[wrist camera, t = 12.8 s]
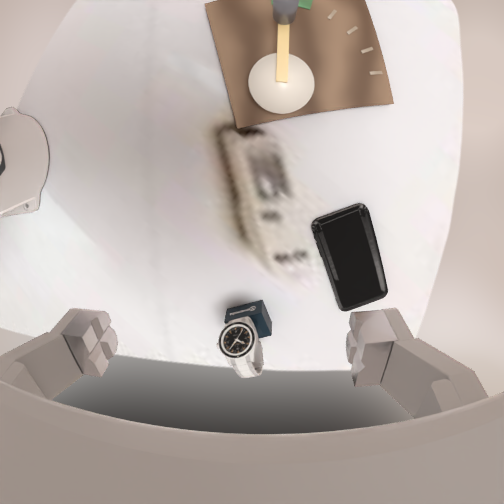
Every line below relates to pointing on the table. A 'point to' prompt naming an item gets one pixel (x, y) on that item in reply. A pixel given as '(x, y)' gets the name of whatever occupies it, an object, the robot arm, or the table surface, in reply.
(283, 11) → the dial knob with pointer
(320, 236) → the phone
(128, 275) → the table surface
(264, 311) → the watch
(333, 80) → the gauge panel
